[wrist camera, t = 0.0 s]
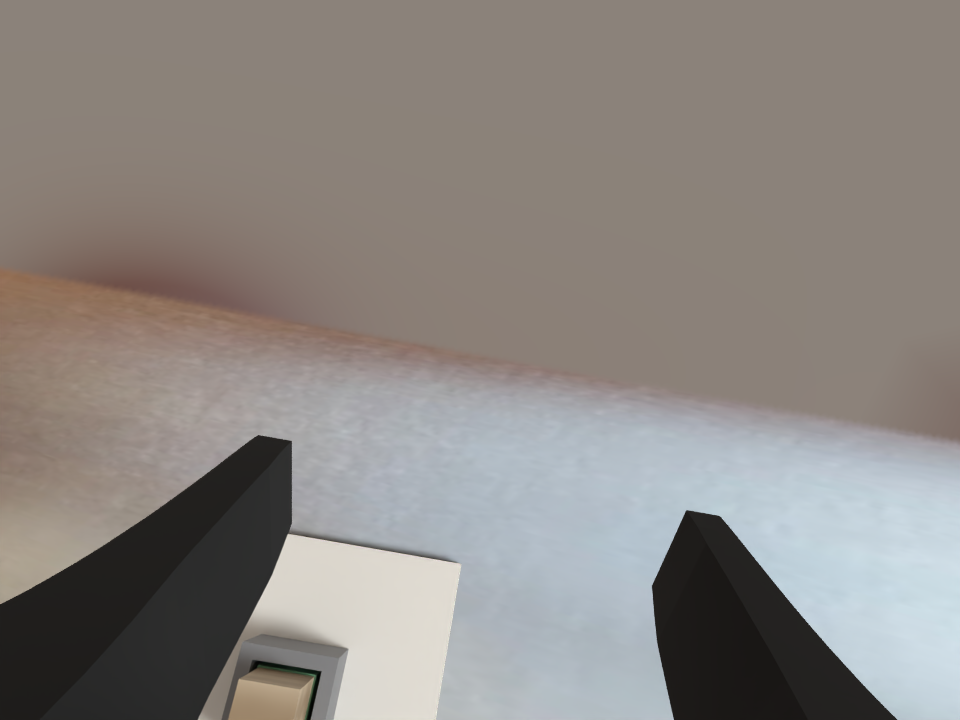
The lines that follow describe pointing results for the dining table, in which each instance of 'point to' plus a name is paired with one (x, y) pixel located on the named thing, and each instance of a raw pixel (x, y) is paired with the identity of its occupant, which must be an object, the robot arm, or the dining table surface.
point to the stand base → (350, 630)
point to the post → (275, 693)
